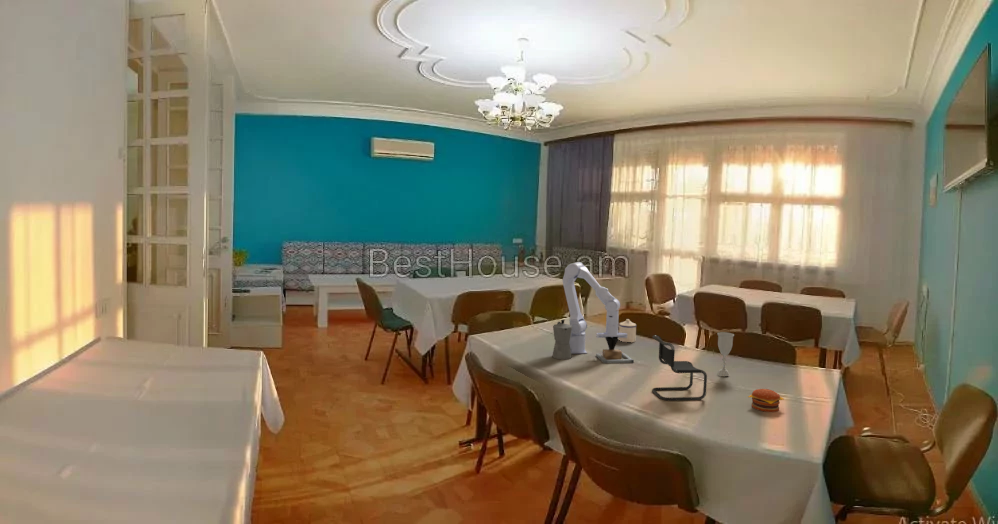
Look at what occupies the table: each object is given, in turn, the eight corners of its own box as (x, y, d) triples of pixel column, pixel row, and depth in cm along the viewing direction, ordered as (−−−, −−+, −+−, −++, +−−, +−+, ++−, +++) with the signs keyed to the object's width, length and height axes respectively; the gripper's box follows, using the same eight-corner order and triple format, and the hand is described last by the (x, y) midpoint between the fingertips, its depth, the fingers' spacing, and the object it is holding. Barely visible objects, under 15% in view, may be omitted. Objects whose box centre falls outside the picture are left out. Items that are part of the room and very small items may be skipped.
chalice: (733, 378, 241) (735, 336, 239) (716, 377, 243) (718, 335, 241) (730, 373, 248) (732, 332, 247) (713, 372, 250) (715, 331, 248)
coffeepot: (575, 360, 265) (576, 322, 264) (555, 361, 264) (556, 322, 262) (566, 352, 281) (567, 316, 279) (548, 352, 279) (548, 316, 278)
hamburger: (759, 401, 213) (760, 384, 212) (784, 409, 205) (786, 391, 205) (745, 406, 207) (746, 388, 207) (770, 414, 200) (772, 396, 199)
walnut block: (604, 360, 267) (604, 352, 267) (602, 357, 272) (602, 349, 272) (621, 360, 267) (621, 352, 267) (619, 357, 272) (619, 349, 272)
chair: (648, 389, 225) (651, 334, 222) (691, 389, 226) (694, 334, 224) (661, 401, 212) (664, 342, 210) (706, 400, 213) (709, 342, 211)
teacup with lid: (639, 341, 305) (640, 319, 304) (628, 343, 300) (629, 321, 298) (621, 337, 315) (622, 316, 313) (610, 339, 309) (611, 318, 308)
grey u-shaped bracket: (604, 363, 262) (604, 360, 262) (596, 356, 274) (596, 353, 274) (633, 362, 263) (633, 360, 263) (624, 355, 276) (624, 353, 276)
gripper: (625, 322, 277) (624, 350, 278) (595, 322, 276) (594, 350, 277) (629, 325, 270) (627, 354, 271) (598, 325, 269) (597, 354, 270)
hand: (611, 352), depth 274 cm, fingers closed
